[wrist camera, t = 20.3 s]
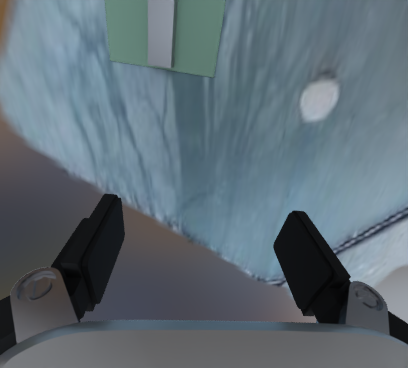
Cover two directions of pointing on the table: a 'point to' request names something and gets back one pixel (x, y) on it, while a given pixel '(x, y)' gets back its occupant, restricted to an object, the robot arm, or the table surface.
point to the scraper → (162, 32)
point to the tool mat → (185, 34)
